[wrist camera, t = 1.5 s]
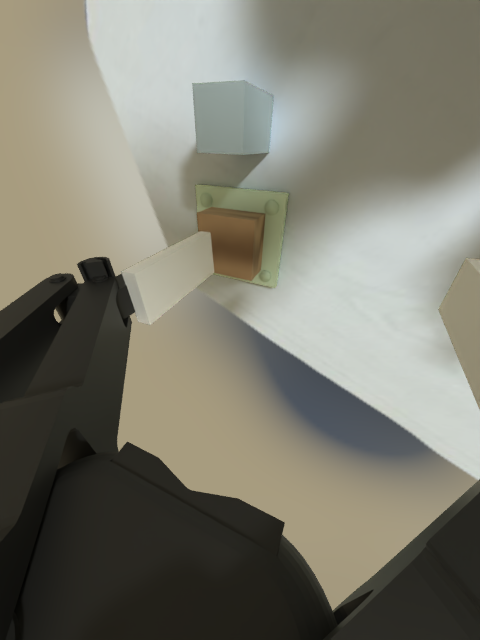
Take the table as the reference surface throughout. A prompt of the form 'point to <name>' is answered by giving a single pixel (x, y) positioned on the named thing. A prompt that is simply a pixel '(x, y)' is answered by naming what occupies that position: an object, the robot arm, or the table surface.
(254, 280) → the plate
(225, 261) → the base brick
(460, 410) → the table surface
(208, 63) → the table surface
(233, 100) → the column brick
